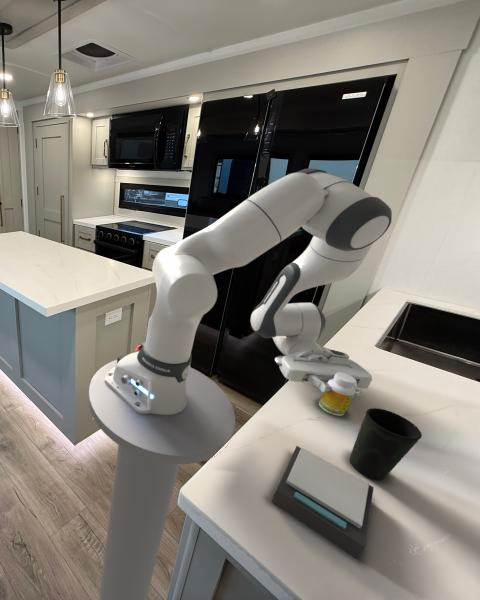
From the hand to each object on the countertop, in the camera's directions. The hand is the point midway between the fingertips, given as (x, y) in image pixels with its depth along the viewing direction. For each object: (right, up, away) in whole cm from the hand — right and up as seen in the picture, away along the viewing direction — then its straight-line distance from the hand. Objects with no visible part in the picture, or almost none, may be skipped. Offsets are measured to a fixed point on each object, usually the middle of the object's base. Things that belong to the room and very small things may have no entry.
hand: (342, 392), depth 75 cm
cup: (-6, -12, -12) cm, 18 cm away
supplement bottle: (0, -5, +3) cm, 6 cm away
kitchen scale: (-20, -14, -19) cm, 31 cm away
